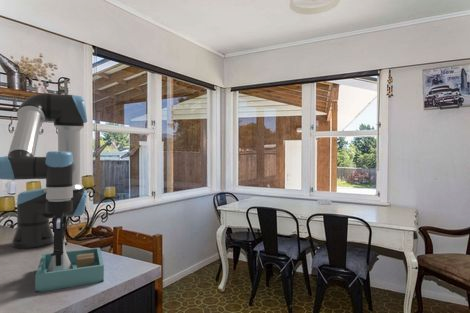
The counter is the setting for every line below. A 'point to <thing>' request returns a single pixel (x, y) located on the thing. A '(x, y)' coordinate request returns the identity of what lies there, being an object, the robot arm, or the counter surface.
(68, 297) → the counter surface
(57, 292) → the counter surface
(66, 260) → the flask
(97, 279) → the tote
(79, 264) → the walnut cube
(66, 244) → the robot arm
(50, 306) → the counter surface
